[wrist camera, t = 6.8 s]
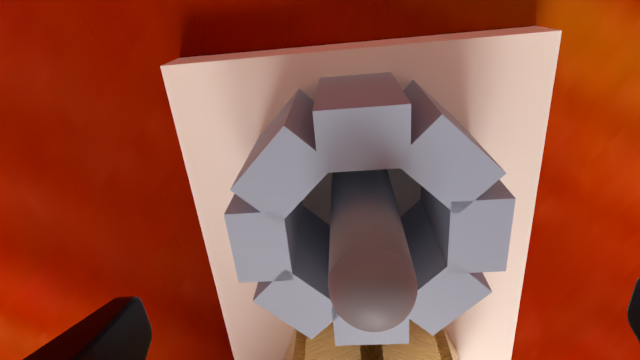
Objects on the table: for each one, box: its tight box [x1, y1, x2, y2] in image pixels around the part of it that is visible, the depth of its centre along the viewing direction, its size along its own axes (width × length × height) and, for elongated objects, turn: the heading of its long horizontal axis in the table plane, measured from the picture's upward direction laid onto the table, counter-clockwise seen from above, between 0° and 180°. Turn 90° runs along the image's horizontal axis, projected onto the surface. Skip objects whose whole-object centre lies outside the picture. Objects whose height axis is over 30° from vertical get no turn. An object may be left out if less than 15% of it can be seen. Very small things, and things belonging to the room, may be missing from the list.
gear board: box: [160, 26, 562, 360], centre depth 12 cm, size 16×11×7 cm
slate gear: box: [224, 72, 516, 346], centre depth 11 cm, size 7×7×4 cm
